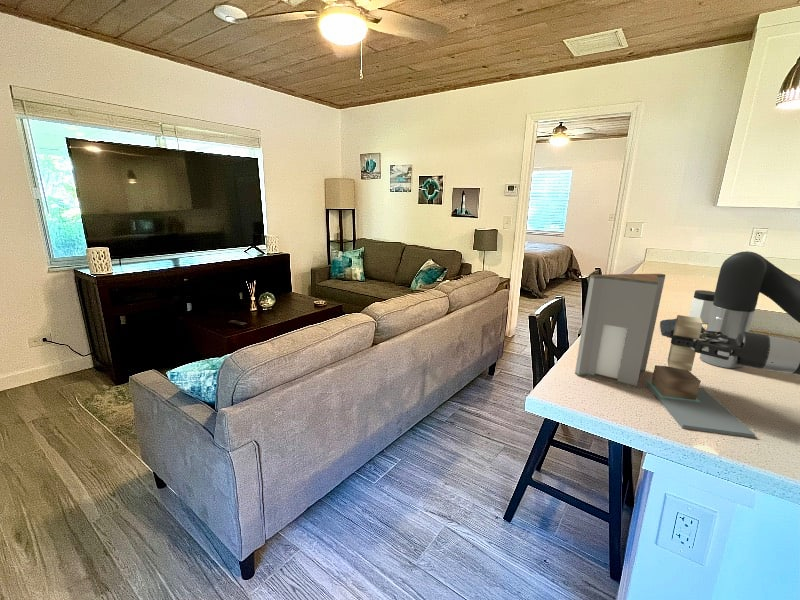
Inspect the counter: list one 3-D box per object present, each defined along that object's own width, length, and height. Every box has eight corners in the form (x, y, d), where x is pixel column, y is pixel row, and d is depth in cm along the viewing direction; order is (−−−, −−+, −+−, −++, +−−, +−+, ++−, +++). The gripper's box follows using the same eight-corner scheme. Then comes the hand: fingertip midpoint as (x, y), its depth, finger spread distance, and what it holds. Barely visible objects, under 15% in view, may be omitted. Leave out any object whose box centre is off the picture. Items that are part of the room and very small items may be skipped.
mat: (701, 390, 95) (702, 387, 95) (754, 437, 76) (755, 434, 76) (645, 383, 98) (645, 381, 98) (682, 428, 79) (683, 424, 79)
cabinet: (640, 369, 107) (660, 273, 100) (669, 385, 98) (693, 281, 90) (574, 373, 103) (590, 274, 96) (598, 390, 94) (617, 283, 87)
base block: (681, 386, 96) (686, 368, 94) (695, 400, 89) (700, 381, 88) (651, 382, 97) (655, 365, 96) (662, 396, 91) (667, 377, 89)
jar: (720, 324, 148) (727, 294, 145) (703, 325, 146) (710, 295, 143) (698, 317, 157) (704, 289, 153) (682, 318, 155) (688, 290, 152)
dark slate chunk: (705, 329, 144) (708, 317, 142) (715, 347, 125) (719, 334, 124) (657, 321, 151) (660, 310, 150) (661, 338, 133) (664, 325, 132)
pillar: (689, 364, 92) (700, 318, 89) (691, 371, 88) (702, 323, 85) (667, 360, 94) (677, 314, 91) (668, 366, 91) (678, 319, 87)
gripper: (769, 380, 77) (668, 360, 86) (754, 357, 89) (666, 341, 98) (779, 346, 75) (675, 329, 84) (762, 327, 87) (672, 314, 96)
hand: (671, 336), depth 91 cm, fingers closed on pillar, 4 cm apart
